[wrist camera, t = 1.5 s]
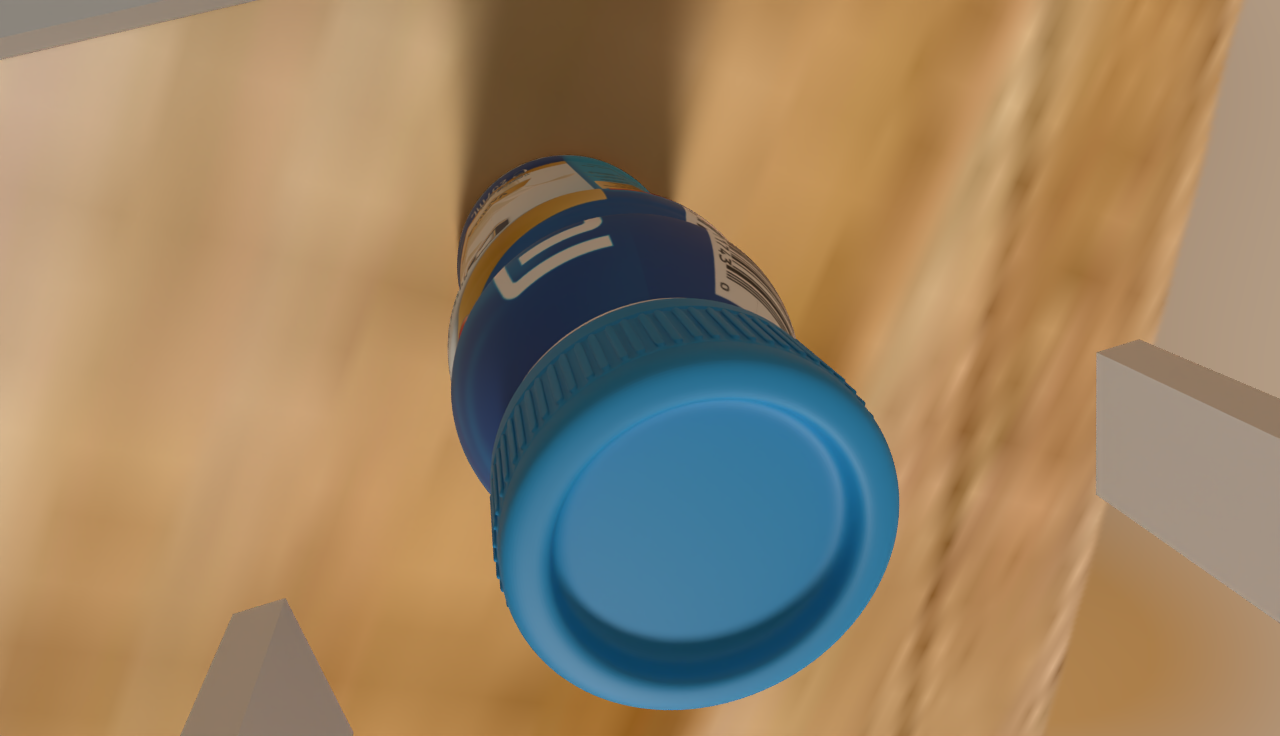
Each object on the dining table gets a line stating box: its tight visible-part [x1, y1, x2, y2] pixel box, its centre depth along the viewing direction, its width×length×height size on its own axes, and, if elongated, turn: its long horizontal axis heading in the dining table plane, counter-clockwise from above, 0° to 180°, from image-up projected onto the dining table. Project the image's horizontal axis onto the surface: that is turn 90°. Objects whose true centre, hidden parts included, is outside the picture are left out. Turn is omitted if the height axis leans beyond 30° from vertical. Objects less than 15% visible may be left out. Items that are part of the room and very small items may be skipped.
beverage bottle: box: [448, 155, 899, 710], centre depth 22 cm, size 8×8×20 cm
